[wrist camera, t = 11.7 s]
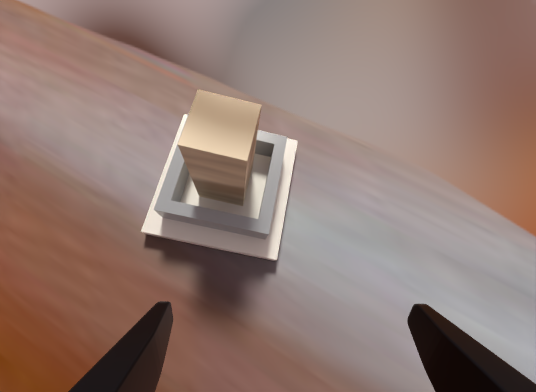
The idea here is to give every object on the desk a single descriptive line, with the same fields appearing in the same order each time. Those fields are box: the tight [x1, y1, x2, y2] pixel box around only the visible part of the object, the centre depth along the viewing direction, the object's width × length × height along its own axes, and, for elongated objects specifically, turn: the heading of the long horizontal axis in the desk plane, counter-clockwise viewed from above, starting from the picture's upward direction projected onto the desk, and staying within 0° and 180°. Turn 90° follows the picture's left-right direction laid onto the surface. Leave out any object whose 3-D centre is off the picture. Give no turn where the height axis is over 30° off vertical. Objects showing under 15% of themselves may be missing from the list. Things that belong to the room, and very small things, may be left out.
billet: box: [178, 89, 261, 206], centre depth 19 cm, size 4×4×9 cm
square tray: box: [141, 114, 297, 261], centre depth 23 cm, size 12×12×4 cm
